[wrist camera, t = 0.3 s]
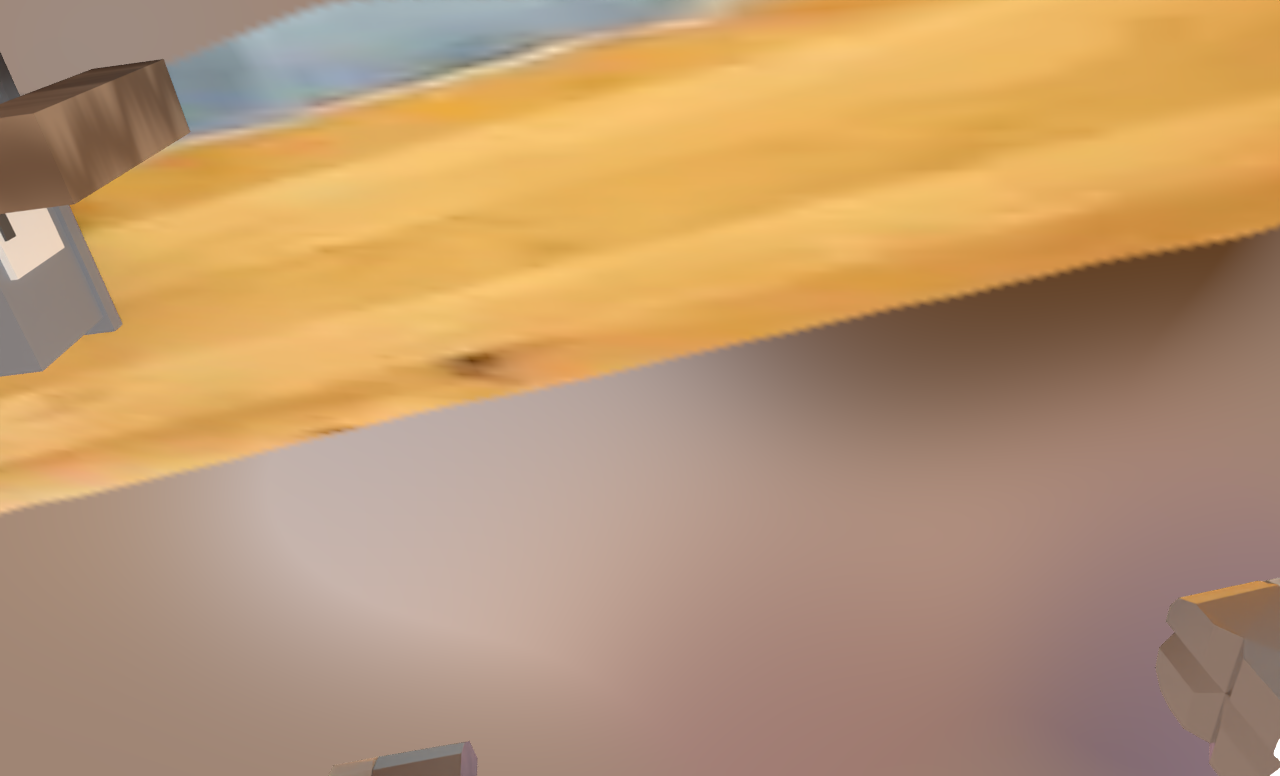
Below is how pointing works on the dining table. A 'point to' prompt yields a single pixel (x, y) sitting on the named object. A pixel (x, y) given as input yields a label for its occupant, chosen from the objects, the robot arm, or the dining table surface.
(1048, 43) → the dining table surface
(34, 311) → the label stand
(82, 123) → the walnut block
